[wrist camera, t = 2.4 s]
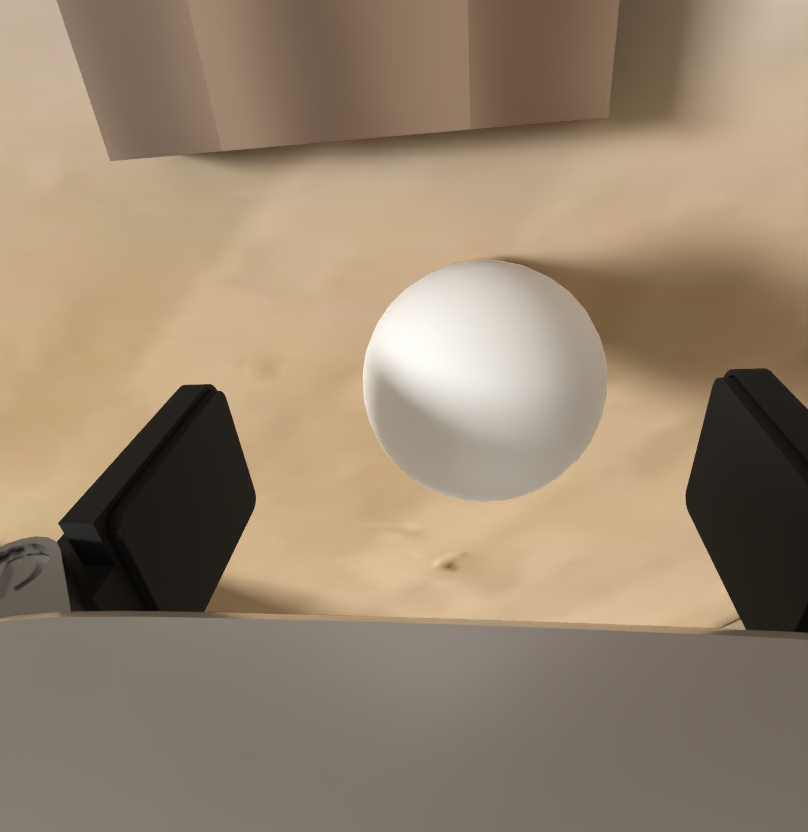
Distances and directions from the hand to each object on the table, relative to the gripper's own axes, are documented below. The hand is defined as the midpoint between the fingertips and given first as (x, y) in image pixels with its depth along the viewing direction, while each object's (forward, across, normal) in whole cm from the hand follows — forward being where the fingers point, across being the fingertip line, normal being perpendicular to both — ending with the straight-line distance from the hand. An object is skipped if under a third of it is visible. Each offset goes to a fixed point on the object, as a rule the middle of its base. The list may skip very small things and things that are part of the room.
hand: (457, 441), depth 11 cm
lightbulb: (+12, -1, +1) cm, 12 cm away
